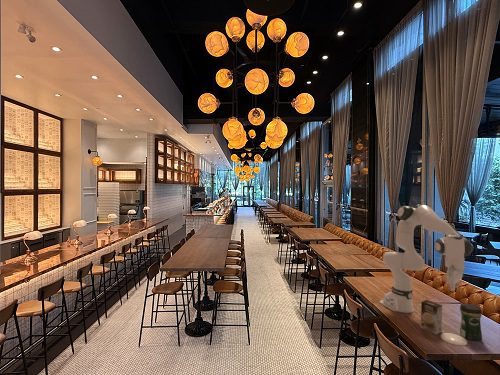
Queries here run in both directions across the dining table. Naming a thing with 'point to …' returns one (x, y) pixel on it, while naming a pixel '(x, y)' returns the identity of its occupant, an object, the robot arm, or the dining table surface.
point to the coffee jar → (470, 322)
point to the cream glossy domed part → (454, 339)
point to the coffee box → (431, 316)
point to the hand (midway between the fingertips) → (454, 289)
